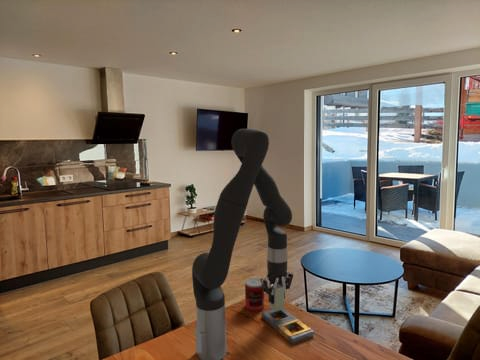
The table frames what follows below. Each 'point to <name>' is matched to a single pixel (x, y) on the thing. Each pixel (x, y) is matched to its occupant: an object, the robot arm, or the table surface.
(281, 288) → the sage block
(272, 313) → the grey yellow flat board
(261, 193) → the robot arm
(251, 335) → the table surface
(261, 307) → the canned food
